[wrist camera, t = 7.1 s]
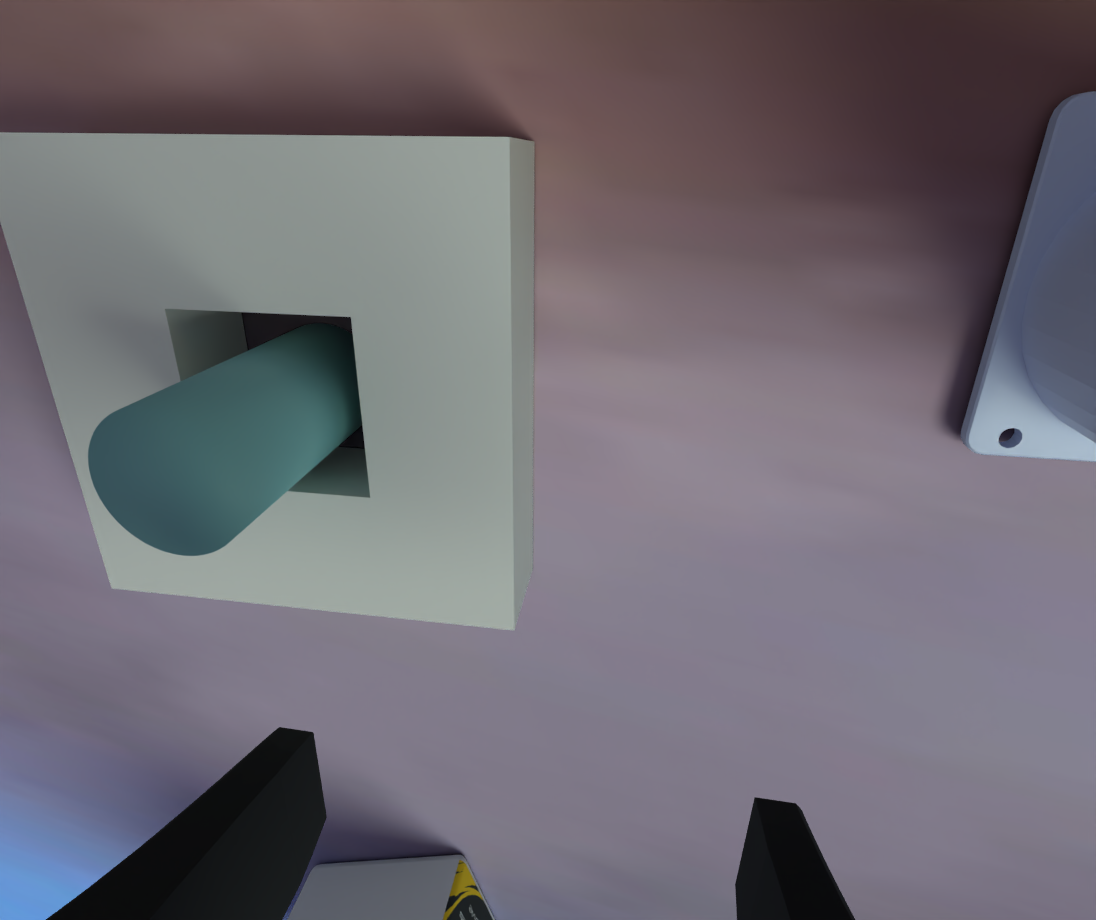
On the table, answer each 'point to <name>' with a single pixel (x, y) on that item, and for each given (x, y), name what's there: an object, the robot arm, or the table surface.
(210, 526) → the peg
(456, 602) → the socket slab
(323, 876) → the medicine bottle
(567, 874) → the table surface
